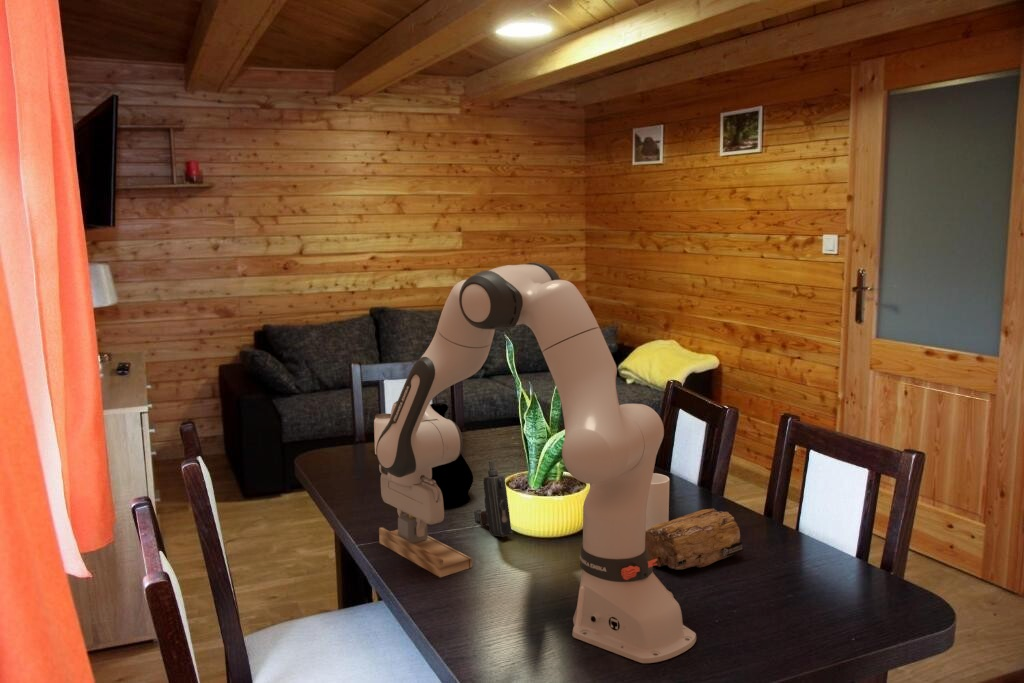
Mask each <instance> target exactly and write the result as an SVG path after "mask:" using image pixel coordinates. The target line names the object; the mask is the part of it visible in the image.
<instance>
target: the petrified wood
mask: <svg viewBox="0 0 1024 683" xmlns="http://www.w3.org/2000/svg"><path fill="white" fill-rule="evenodd" d="M740 539H741V532H740V527H739V526H738V523H737V522H736V520H735V517H734V516H733V515H732V514H730V513H729V511H723V510H721V511H718V510H717V509H715V508H714V507H713V508H707V509H701V510H697V511H694V512H692V513H688V514H685V515H682V516H679V517H677V518H675V519H672V520H669V521H668V522H664V523H661V524H658V525H656V526H653V527H652V528H650V529H648V530H646V534H645V546H646V547H647V550H648V553H649V557H650V560H654V559H657V561H656V562H655V563H653V564H656V563H657V565H655V566H656V567H658V568H661V567H664V566H667V567H668V568H670V569H672V570H673V569H674V570H685V569H690V568H692V567H697V568H704V567H706V566H709V565H713V563H715V562H718V561H720V560H725V559H726V558H729V557H731V556H733V555H735V554H738V553H740V552H743V551H744V548H743V547H744V546H743V541H740Z"/></svg>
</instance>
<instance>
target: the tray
mask: <svg viewBox="0 0 1024 683" xmlns="http://www.w3.org/2000/svg"><path fill="white" fill-rule="evenodd" d="M378 534H379V535H378V536H379V544H380V545H381V546H382V545H383V546H384V547H385V548H387V549H389V550H391V551H393V552H395V553H396V554H398V555H400V556H401V557H402V558H403V557H404V558H405V559H406V560H409V561H411V562H412V563H413V564H416V565H417V566H418V567H420V568H423V569H424V570H427V571H428V572H429V573H432V574H433V575H435V576H437V577H438V578H444V577H447V576H449V575H453V574H456V573H459V572H462V571H466V570H468V569H472V568H473V558H472V557H471V556H468V555H467V554H465V553H462V552H461V551H459V550H457V549H454V548H453V547H451V546H449V545H447V544H445V543H443V542H442V541H439V540H438V539H436V538H433V537H432V536H429V535H428V534H427V540H423V541H419V542H416V543H411V542H409V541H407V540H405V539H403V538H401V537H399V536H398V529H394V530H391V531H390V530H388V529H386V528H385V527H379V528H378Z"/></svg>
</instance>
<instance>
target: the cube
mask: <svg viewBox="0 0 1024 683" xmlns="http://www.w3.org/2000/svg"><path fill="white" fill-rule="evenodd" d="M417 523H418V522H416V518H415V517H413V516H411V515H409V514H408V515H405V516H401V517H399V516H398V517H397V530H398V536H399V537H401V538H403V539H405V540H407V541H409V542H411V543H416V542H419V541H423V540H427V535H428V524H426V526H425V534H424V536H421V537H418V536H416V535H415V534H414V528H415V527H417Z"/></svg>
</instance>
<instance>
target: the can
mask: <svg viewBox="0 0 1024 683" xmlns="http://www.w3.org/2000/svg"><path fill="white" fill-rule="evenodd" d="M374 416H375V417H374V420H373V428H374V429H373V434H374V435H373V436H374V439H373V440H374V455H376V447H377V442H378V440H379V437H380V435H381V433H382V432H383V430H384V429H385V427H386V426H387V424H388V423H389V421H390V418H391V413H379V414H376V415H374Z"/></svg>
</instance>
